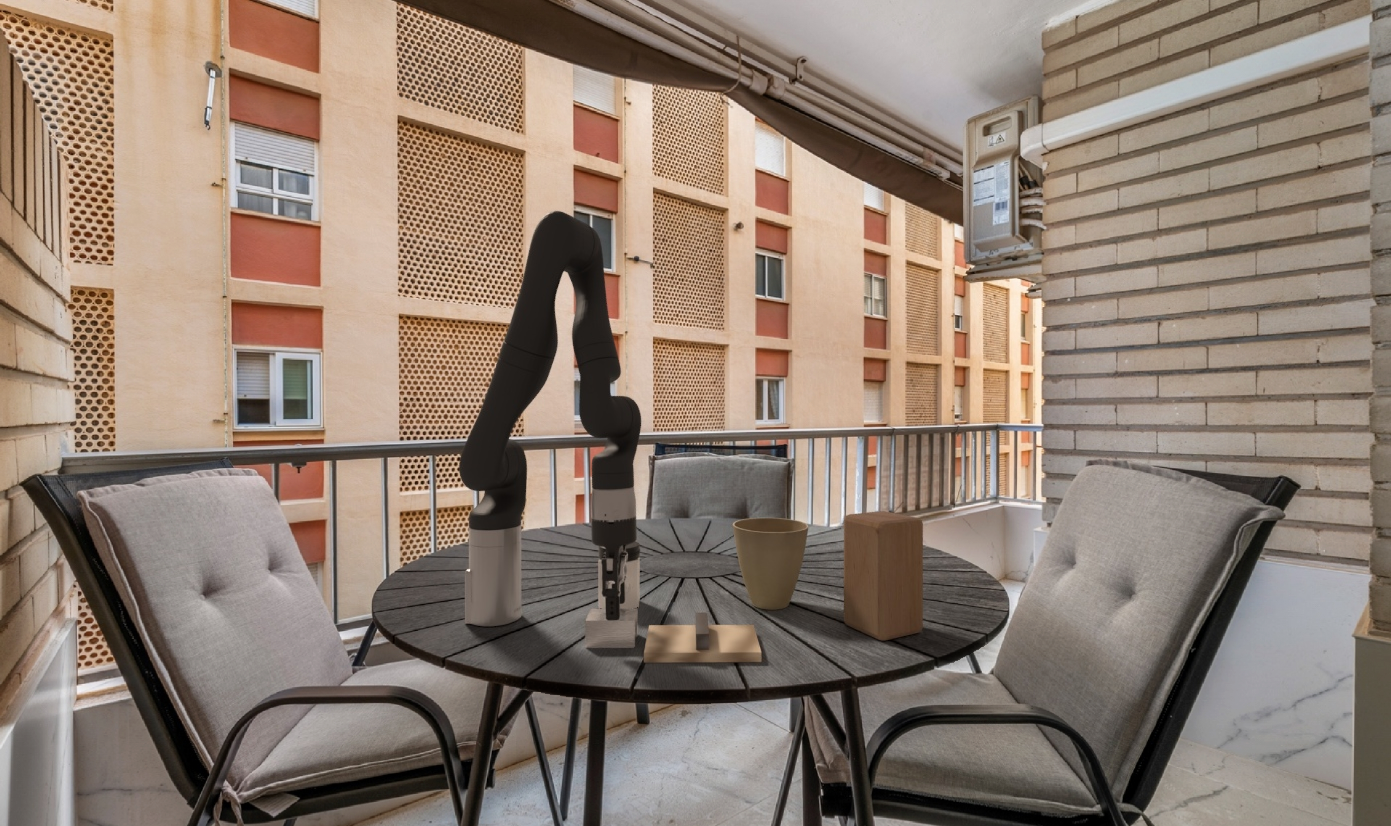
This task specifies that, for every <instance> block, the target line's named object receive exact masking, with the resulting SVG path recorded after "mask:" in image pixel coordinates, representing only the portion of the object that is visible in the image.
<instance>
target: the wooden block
mask: <svg viewBox="0 0 1391 826" xmlns="http://www.w3.org/2000/svg"><path fill="white" fill-rule="evenodd" d="M923 553H924V522H923V520H922V519H920V518H918V517H915V516H911V515H906V514H901V513H894V512H890V511H885V510H878V511H877V510H876V511H871V512H870V511H869V512H860V513H859V512H857V513H850V514H846V515H845V516H844V518H843V621H844V624H845V625H846V626H848V627H850V628H852V629H855V630H857V631H859V632H860V633H863V634H866V635H868V636H870V637H872V638H874V639H876V640H879V641H883V642H884V641H888V640H893V639H897V638H901V637H904V636H905V637H907V636H909V635H910V636H911V635H913V634H919V633H921V632H922V631H923V628H924V624H923V623H924V617H923V616H924V608H923V607H924V605H923V604H924V602H923V601H924V593H923V592H924V582H923V581H924V575H923V574H924V565H923V564H924V554H923Z"/></svg>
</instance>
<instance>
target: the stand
mask: <svg viewBox="0 0 1391 826" xmlns="http://www.w3.org/2000/svg"><path fill="white" fill-rule="evenodd" d="M643 663H645V664H646V663H647V664H648V663H649V664H651V663H762V649H761V647H760V643H759V639H758V636H757V632H756V628H755V625H754V624H709V618H708V612H695V624H677V625H676V624H666V625H665V624H664V625H663V624H662V625H661V624H659V625H658V624H655V625H654V624H653V625H652V624H651V625H650V624H649V625H648V631H647V635H646V639H645V645H644V650H643Z"/></svg>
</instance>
